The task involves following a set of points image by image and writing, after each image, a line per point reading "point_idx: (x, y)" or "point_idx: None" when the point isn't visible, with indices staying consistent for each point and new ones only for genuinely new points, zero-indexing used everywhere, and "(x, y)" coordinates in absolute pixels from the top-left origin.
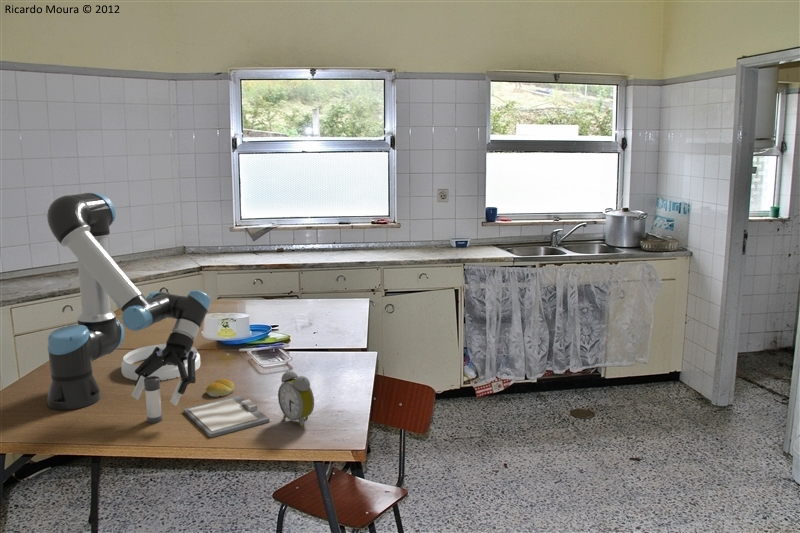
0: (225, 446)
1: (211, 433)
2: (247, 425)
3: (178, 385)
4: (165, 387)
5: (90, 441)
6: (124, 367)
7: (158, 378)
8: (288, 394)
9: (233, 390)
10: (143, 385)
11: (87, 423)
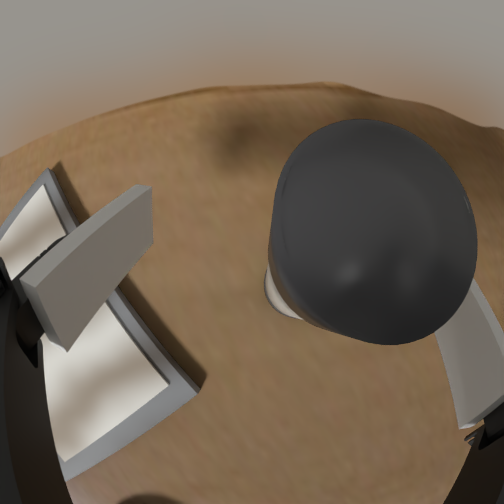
0: (29, 143)
1: (44, 173)
2: None
3: (54, 250)
4: None
5: (407, 110)
6: None
7: (289, 243)
8: None
9: None
10: (457, 370)
11: (492, 229)
